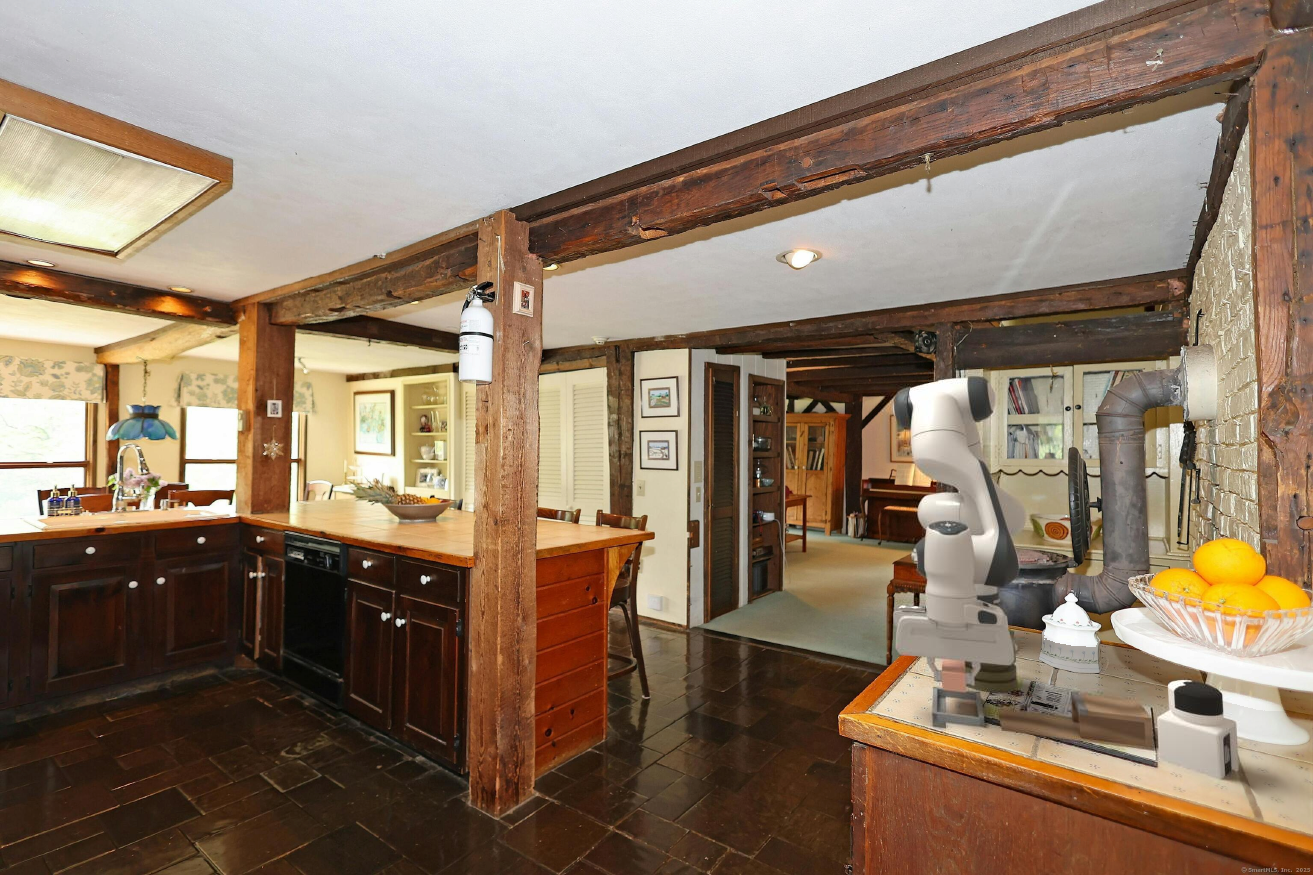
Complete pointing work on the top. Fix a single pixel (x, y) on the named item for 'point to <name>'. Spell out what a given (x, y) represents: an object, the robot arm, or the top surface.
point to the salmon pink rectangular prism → (953, 675)
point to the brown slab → (1088, 722)
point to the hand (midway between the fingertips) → (954, 682)
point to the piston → (995, 675)
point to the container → (1197, 730)
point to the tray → (942, 717)
